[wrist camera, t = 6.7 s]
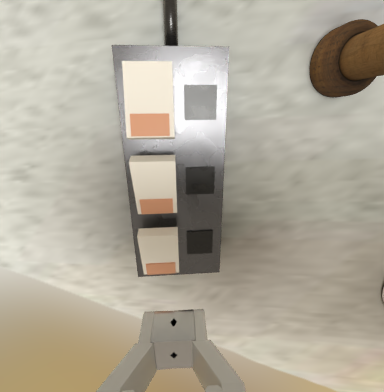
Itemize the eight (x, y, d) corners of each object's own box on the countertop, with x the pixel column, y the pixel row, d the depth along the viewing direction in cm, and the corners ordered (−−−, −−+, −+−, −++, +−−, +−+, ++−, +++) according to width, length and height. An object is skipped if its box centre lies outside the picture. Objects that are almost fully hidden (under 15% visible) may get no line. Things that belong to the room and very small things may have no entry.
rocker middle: (175, 154, 20) (175, 161, 19) (176, 205, 24) (177, 213, 23) (130, 155, 20) (128, 163, 19) (139, 206, 24) (137, 215, 23)
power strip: (222, -17, 21) (236, -52, 16) (213, 253, 31) (220, 276, 27) (114, -20, 20) (97, -58, 16) (142, 256, 31) (137, 281, 26)
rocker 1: (172, 67, 19) (172, 60, 18) (174, 138, 20) (174, 136, 19) (125, 67, 19) (121, 60, 18) (129, 139, 20) (126, 137, 18)
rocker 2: (177, 226, 23) (178, 236, 22) (178, 263, 26) (179, 273, 25) (138, 228, 23) (136, 238, 22) (145, 265, 26) (143, 275, 25)
